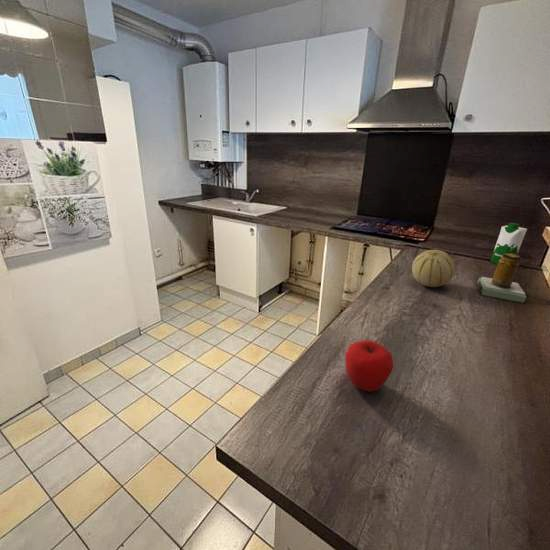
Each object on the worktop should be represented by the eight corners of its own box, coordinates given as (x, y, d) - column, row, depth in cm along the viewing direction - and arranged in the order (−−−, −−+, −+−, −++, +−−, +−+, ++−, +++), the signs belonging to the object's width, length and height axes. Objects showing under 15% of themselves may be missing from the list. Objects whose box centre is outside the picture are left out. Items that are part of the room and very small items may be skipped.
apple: (335, 387, 64) (341, 347, 60) (350, 364, 72) (356, 326, 67) (380, 409, 59) (390, 367, 55) (391, 381, 67) (401, 342, 62)
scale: (515, 290, 115) (518, 282, 114) (524, 303, 105) (527, 294, 104) (476, 283, 120) (478, 275, 119) (480, 294, 111) (483, 286, 109)
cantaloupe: (447, 282, 120) (457, 247, 114) (450, 296, 108) (462, 258, 102) (409, 275, 126) (417, 241, 120) (407, 288, 113) (416, 251, 107)
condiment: (499, 280, 116) (509, 251, 111) (520, 289, 108) (533, 259, 103) (485, 281, 114) (495, 252, 109) (506, 291, 106) (518, 260, 101)
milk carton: (487, 261, 146) (501, 222, 138) (496, 258, 150) (510, 220, 142) (507, 267, 139) (522, 226, 131) (516, 264, 143) (531, 224, 135)
